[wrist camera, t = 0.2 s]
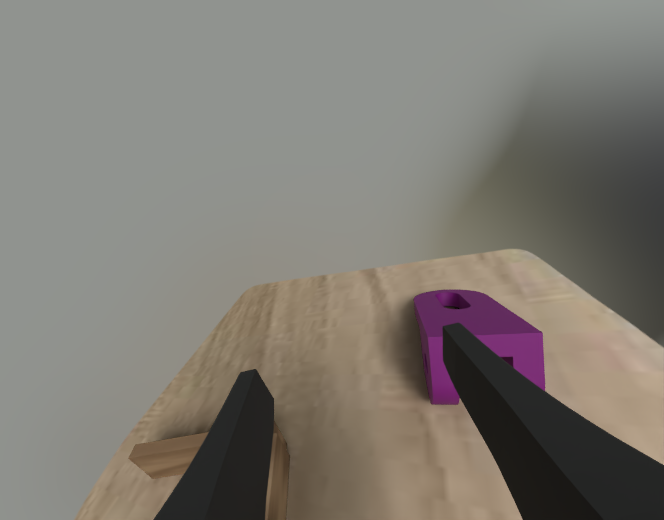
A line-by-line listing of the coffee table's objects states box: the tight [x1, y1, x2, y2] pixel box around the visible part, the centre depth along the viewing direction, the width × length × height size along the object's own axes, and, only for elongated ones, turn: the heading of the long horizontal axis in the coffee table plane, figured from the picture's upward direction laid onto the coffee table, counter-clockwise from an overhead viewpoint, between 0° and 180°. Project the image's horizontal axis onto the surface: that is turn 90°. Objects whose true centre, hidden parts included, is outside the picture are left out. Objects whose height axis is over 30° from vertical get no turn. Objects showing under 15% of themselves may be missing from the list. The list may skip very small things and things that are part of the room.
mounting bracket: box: [414, 290, 545, 405], centre depth 34 cm, size 9×8×18 cm
